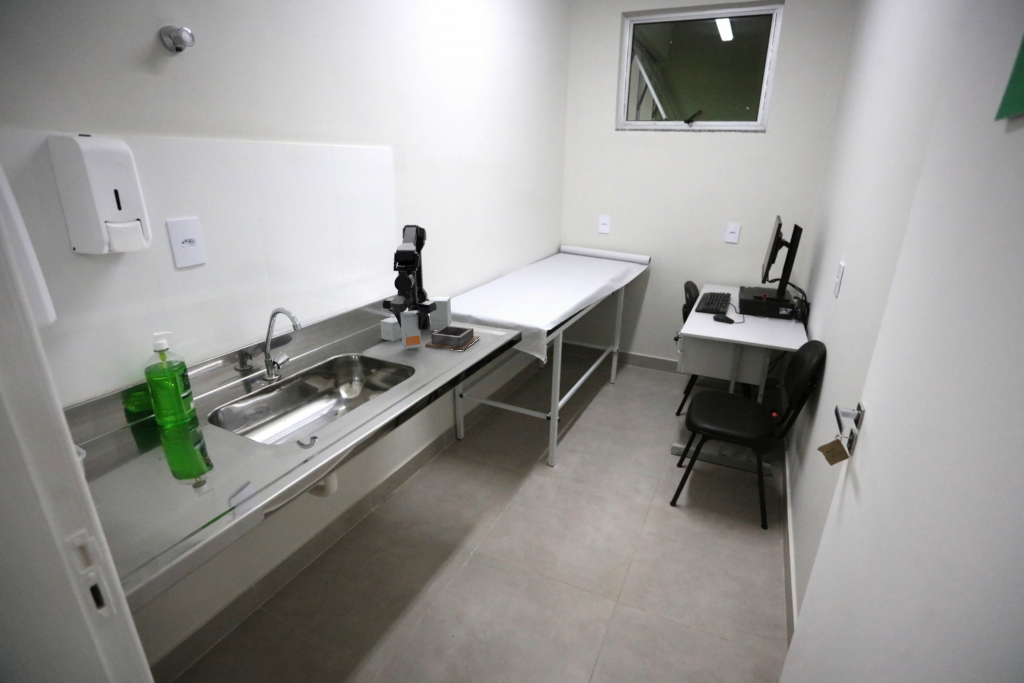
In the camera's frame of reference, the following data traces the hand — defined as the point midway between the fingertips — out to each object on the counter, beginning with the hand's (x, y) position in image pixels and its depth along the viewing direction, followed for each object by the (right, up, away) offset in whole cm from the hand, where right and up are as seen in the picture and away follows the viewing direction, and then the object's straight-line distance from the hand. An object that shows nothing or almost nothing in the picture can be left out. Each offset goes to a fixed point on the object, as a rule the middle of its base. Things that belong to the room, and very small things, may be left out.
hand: (410, 328), depth 179 cm
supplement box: (+7, 0, +25) cm, 26 cm away
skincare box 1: (-10, -4, +14) cm, 17 cm away
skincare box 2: (0, -6, +2) cm, 6 cm away
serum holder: (+14, -5, +9) cm, 17 cm away
